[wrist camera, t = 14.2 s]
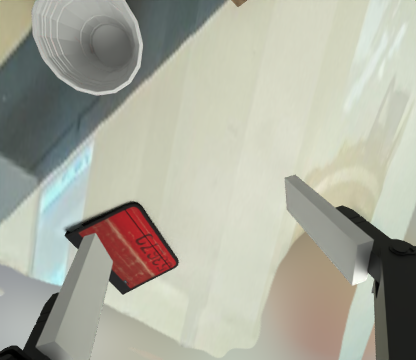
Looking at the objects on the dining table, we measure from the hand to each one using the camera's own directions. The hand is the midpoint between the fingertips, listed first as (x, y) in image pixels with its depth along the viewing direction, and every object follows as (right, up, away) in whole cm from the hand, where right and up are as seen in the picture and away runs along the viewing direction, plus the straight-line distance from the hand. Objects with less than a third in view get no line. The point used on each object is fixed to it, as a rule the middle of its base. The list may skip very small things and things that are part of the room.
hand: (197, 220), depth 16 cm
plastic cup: (-14, +23, +19) cm, 32 cm away
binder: (-17, -12, +36) cm, 42 cm away
